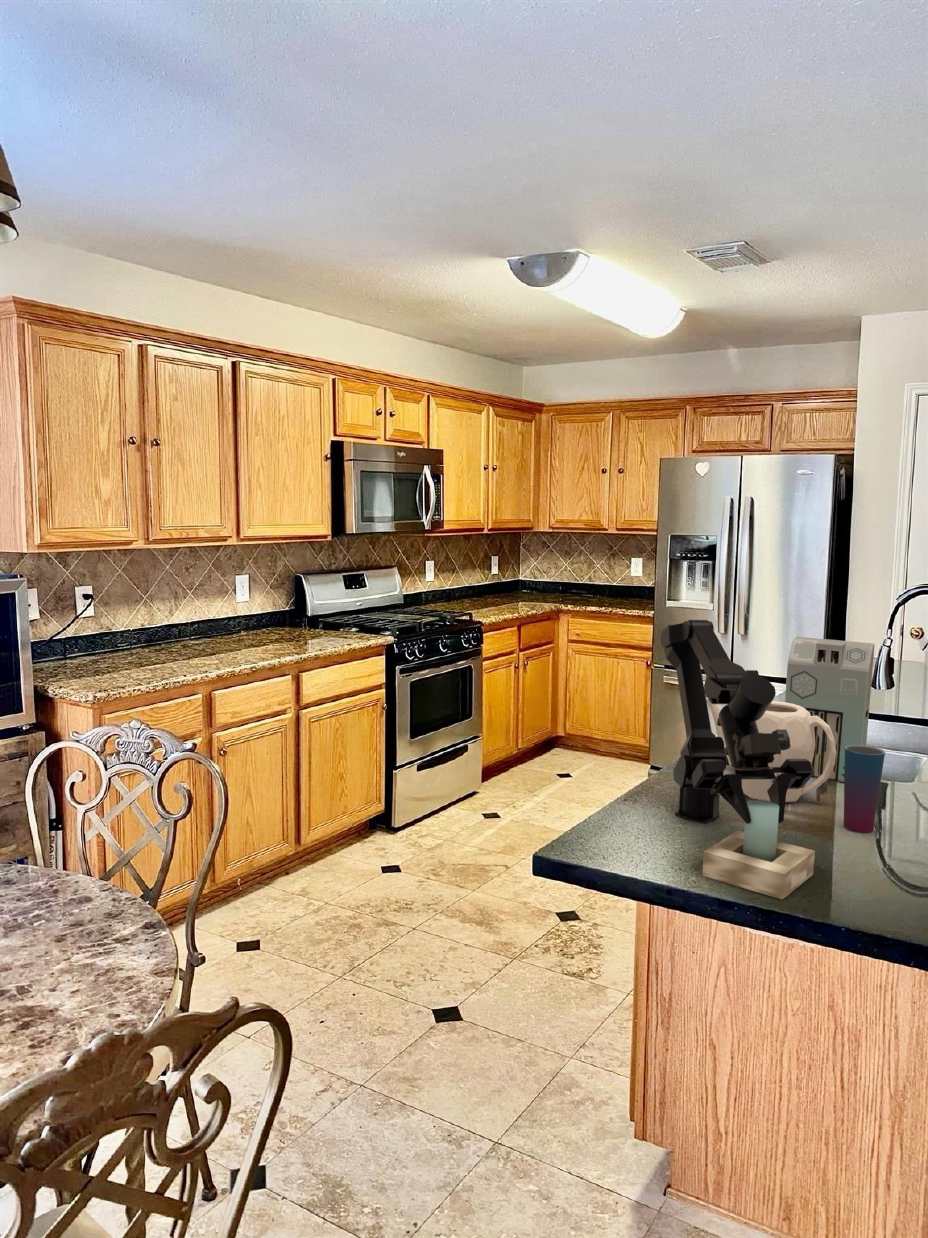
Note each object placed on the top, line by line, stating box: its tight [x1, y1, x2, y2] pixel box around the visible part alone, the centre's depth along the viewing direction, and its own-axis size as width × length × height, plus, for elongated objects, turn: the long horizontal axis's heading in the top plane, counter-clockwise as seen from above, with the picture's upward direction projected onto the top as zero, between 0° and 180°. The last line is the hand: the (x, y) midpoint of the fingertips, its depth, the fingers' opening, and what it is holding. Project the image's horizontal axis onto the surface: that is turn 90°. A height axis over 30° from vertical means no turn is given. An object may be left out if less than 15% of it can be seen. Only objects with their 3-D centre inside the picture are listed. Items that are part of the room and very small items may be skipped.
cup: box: [843, 744, 886, 834], centre depth 169 cm, size 7×7×15 cm
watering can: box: [706, 697, 836, 803], centre depth 187 cm, size 16×27×19 cm, turn 59°
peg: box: [743, 799, 779, 862], centre depth 146 cm, size 5×5×9 cm
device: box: [784, 636, 875, 784], centre depth 201 cm, size 16×8×30 cm, turn 60°
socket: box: [701, 830, 816, 901], centre depth 146 cm, size 13×13×4 cm
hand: (765, 822), depth 144 cm, fingers closed on peg, 5 cm apart
